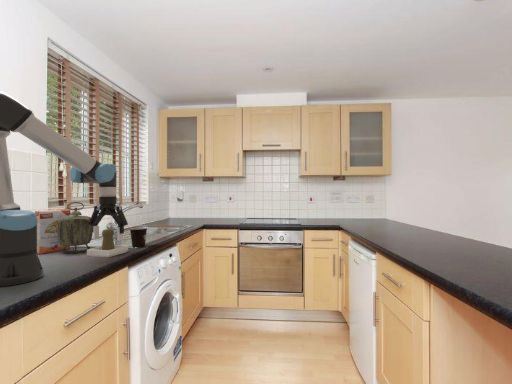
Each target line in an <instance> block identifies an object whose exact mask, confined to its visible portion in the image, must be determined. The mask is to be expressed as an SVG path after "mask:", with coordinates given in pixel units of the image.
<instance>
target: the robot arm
mask: <svg viewBox="0 0 512 384" xmlns="http://www.w3.org/2000/svg"><path fill="white" fill-rule="evenodd" d="M11 132H12V133H19V134H21V135H22V136H24V137H25V138H27V139H28V140H30V141H32V142H33V143H35V144H36V145H38V146H39V147H41V148H43V149H44V150H46V152H47V151H48V152H49V153H51V154H52V155H54V156H55V157H57V158H59V160H61V161H63V162H64V163H66V164H68V165H69V166H71V168H70V170H69V179H70V181H71V182H72V183H74V184H98V195H99V197H98V204H99V205H94V206H93V212H92V214H91V216H90V217H91V219H90V221H89V225H92V229H93V235H92V240H94V241H95V240H96V241H97V240H100V225H99V224H100V223H101V221H102V220H103V218H104V217H105V216H110V217H112V219H113V220H114V221H115V223H116V224H117V225H118V226H117V232H116V233H117V241H118V242H120V241H123V239H124V232H125V226H128V224H129V223H128V220H127V218H126V216H125V214H124V212H123V206H122V205H116V204H117V201H118V200H117V199H118V198H117V174H118V173H117V171H118V170H117V166H116V164H113V163H101V162H100V161H99V160H97V159H95V158H94V157H93V156H91V155H90V154H89V153H87V152H85V151H84V150H83V149H82V148H80V147H78V146H77V145H76V144H74V143H73V142H71V141H70V140H68V139H67V137H64V136H63V135H62V134H60V133H59V132H57V131H56V130H55V129H53V128H52V127H50V125H47V124H46V123H44V122H43V121H42V120H41V119H39V118H37V117H36V116H35V113H34V111H33V110H31V108H29V107H27V106H26V105H25V104H23V103H21V102H20V101H19V100H17V99H15V98H14V97H12V96H11V95H9V94H7V93H5V92H3V91H1V90H0V287H7V286H14V285H21V284H26V283H29V282H33V281H36V280H38V279H41V278H43V276H44V267H43V266H42V263H41V261H40V258H39V256H38V254H37V223H38V221H37V216H36V214H35V211H32V210H23V209H21V206H20V205H19V204H17V203H16V202H15V198H14V192H13V191H14V190H13V182H12V177H11V176H12V175H11V169H10V167H11V166H10V160H9V153H8V145H7V138H8V137H9V136H10V135H11Z"/></svg>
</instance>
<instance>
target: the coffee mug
mask: <svg viewBox="0 0 512 384" xmlns="http://www.w3.org/2000/svg"><path fill="white" fill-rule="evenodd" d="M129 230H130V238H131V239H130V241H131V247H132V248H133V249H136V248H135V247H141V248H144V247H143V246H145V247H146V243H147V242H146V240H147V234H148V233H147V232H148V228H147V227H139V226H138V227H131V228H129Z"/></svg>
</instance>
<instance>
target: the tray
mask: <svg viewBox="0 0 512 384" xmlns="http://www.w3.org/2000/svg"><path fill="white" fill-rule="evenodd" d="M114 247H115V249H112V250H101V249H102V245H100V246H98V247H96V246H95V247H92V248H90V249H86V257H92V258H93V257H97V258H111V257H114V256H118V255H121V254H125V253H128V252H129V245H128V244H127V245H123V244H114Z"/></svg>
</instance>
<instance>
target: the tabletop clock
mask: <svg viewBox="0 0 512 384" xmlns="http://www.w3.org/2000/svg"><path fill="white" fill-rule="evenodd" d="M72 204H79V205H81V206H82V207H81V208H78V207H74V208H70V207H69V206H70V205H72ZM84 208H85V205H84V203H83V202H79V201H71V202H70V203H68V204H67V210H71V214H70V216H68V217H64V218H62V219H60V221H59V223H58V230H57V235H58V241H59V244H60V245H62V246H65V247H64V249H62V251H61V252H62V253H64V252H66V251H67V250H66V247H67V246H70V247H74V250H73V253H75V254H76V253H78V250H77V247H79V246H85V247H86V250H88V249H91V247H90V246H89V245H88V244H90V243H91V241H92V240H93V229H92V225H89V221H90V219H91V216H87V215H82V213H81V211H80V210H83V209H84Z"/></svg>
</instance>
